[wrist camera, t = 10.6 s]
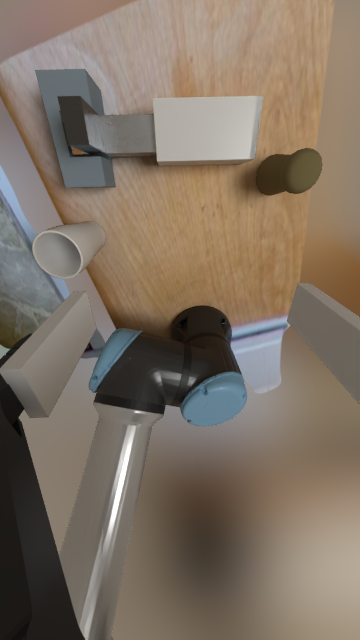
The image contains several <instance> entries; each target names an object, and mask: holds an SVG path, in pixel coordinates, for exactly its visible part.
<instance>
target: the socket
mask: <svg viewBox="0 0 360 640" xmlns="http://www.w3.org/2000/svg"><path fill="white" fill-rule="evenodd" d="M35 72H36V76H37V80H38V84H39V87H40V91H41V95H42V99H43V103H44V107H45V110H46V114H47V118H48V122H49V126H50V129H51V133H52V137H53V141H54V145H55V148H56V152H57V156H58V160H59V164H60V167H61V171H62V175H63V179H64V183H65V187H66V188H91V187H116V186H115V179H114V173H113V166H112V160H111V157H101V156H99V157H79V156H77V155H74V154H73V153H72V149H71V146H69V144H68V140H67V136H66V132H65V127H64V123H63V119H62V115H61V110H60V106H59V102H58V98H57V96H81V97H82V98H83V99H84V100H85V101H86V102H87V103H88V104H89V105H90V106H91V107H92V108H93V109H94V110H95V111H96V112H97V113H98V114H99V115H104V109H103V102H102V96H101V90H100V89H99V88H98V86H97V85H96V84H95V82H94V81H93V79H92V78H91V77H90V75H89V74H88V73H87V71H86V70H85V69H64V70H35Z"/></svg>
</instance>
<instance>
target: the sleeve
mask: <svg viewBox="0 0 360 640" xmlns="http://www.w3.org/2000/svg"><path fill="white" fill-rule="evenodd" d="M262 102H263V96H236V97H190V98H153V107H154V122H155V137H156V153H157V162H158V164H159V166H184V165H221V164H242V163H245V162H248V161H251V160H253V159H255V155H256V148H257V140H258V132H259V125H260V117H261V109H262Z"/></svg>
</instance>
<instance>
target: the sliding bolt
mask: <svg viewBox="0 0 360 640" xmlns="http://www.w3.org/2000/svg"><path fill="white" fill-rule="evenodd" d="M57 98H58V102H59V106H60V110H61V115H62V119H63V123H64V127H65V132H66V136H67V140H68V144H69V146H71V149H72V153H73V154H74V155H77V156H79V157H99V156H101V157H129V156H157V153H156V137H155V122H154V114H139V115H99V114H98V113H97V112H96V111H95V110H94V109H93V108H92V107H91V106H90V105H89V104H88V103H87V102H86V101H85V100H84V99H83V98H82V97H81V96H57Z"/></svg>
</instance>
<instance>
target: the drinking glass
mask: <svg viewBox="0 0 360 640" xmlns="http://www.w3.org/2000/svg"><path fill="white" fill-rule="evenodd" d="M105 241H106V237H105V233H104V231H103V229H102V228H101V227H100V226H99V225H98V224H96V223H94V222H91V221H86V222H83V223H76V224H67V225H61V226H56V227H53V228H50V229H47V230H45V231H43V232H41V233H39V234H38V235H37V236H36V237H35V239H34V241H33V244H32V252H33V256H34V258H35V260H36V262H37V263H38V265H39V266H40V267H41V268H42V269H43V270H44V271H45V272H46V273H48V274H50V275H51V276H54V277H57V278H61V279H67V278H72V277H74V276H76V275H77V274H79V273H80V272H81V271H83V270H84V269H85V268H86V267H87V266H88V265H89V264H90V262H91V261H92V260H93V258H94V257H95V256H96V254H97V253H98V251H99V250H100V249H101V248H102V247H103V246H104V244H105Z"/></svg>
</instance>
